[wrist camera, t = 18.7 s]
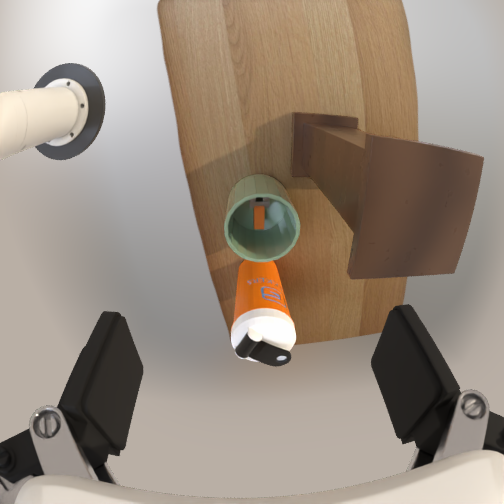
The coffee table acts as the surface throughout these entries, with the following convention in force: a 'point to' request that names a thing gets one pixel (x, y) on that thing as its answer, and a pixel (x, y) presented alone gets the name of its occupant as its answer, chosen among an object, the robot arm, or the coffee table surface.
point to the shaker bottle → (261, 316)
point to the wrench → (259, 210)
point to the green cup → (275, 222)
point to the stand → (389, 194)
